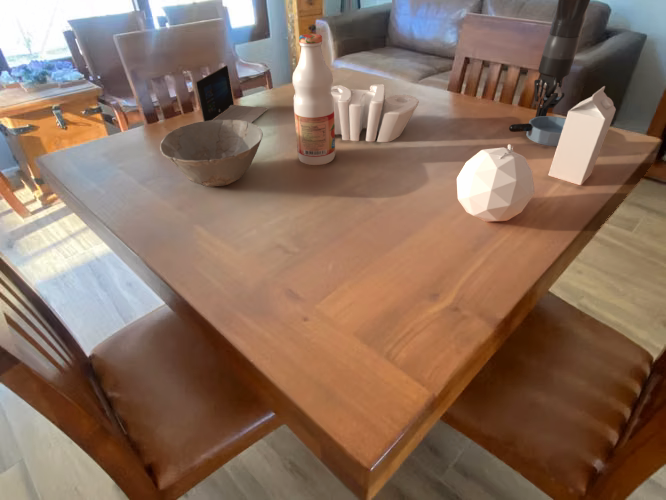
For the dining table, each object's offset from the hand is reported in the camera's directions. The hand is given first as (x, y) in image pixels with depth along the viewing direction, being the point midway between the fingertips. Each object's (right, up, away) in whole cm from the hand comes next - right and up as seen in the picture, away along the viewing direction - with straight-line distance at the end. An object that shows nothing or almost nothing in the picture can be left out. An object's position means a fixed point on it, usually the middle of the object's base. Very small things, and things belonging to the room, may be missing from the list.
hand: (539, 120), depth 119 cm
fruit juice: (-62, -13, -12) cm, 64 cm away
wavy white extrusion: (-52, -2, +2) cm, 52 cm away
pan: (-3, -6, -5) cm, 9 cm away
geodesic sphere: (-27, -29, -34) cm, 52 cm away
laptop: (-87, +4, +11) cm, 88 cm away
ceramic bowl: (-84, -19, -19) cm, 88 cm away
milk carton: (-4, -19, -22) cm, 30 cm away
